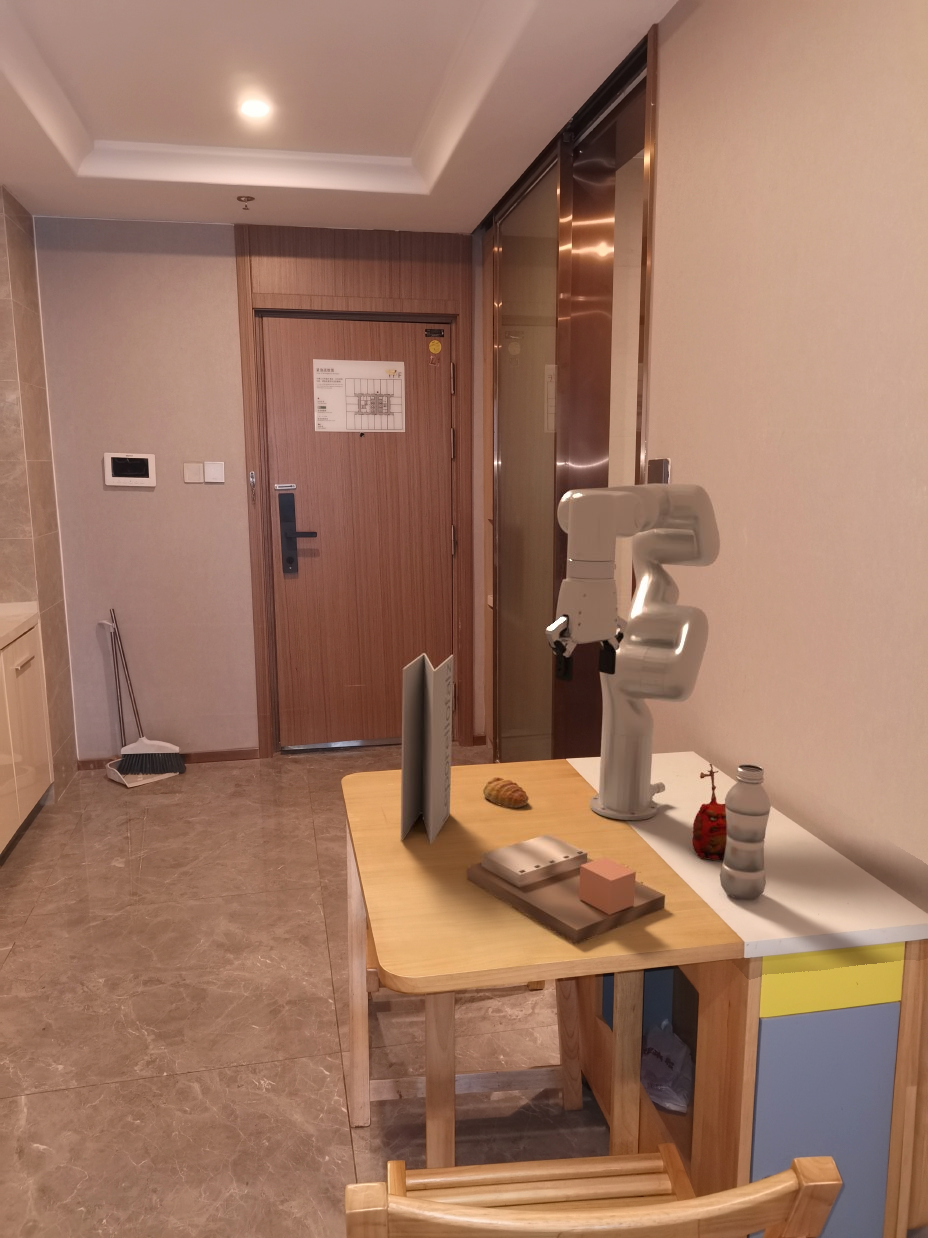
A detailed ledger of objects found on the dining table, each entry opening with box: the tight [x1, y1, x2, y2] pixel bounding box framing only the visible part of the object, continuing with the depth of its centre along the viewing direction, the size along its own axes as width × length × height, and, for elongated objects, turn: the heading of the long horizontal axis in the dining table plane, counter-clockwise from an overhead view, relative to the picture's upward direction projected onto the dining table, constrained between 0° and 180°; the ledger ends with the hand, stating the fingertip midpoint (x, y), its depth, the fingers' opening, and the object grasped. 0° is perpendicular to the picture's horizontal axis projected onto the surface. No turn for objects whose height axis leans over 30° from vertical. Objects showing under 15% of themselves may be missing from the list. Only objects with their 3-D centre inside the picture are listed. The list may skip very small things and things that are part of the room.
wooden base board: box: [466, 833, 666, 945], centre depth 135 cm, size 18×24×4 cm
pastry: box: [482, 776, 530, 809], centre depth 174 cm, size 9×7×4 cm
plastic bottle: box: [719, 763, 772, 900], centre depth 135 cm, size 6×7×20 cm
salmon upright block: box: [579, 856, 637, 915], centre depth 128 cm, size 5×6×5 cm
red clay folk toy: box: [691, 763, 727, 861], centre depth 150 cm, size 8×7×15 cm
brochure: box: [400, 652, 454, 844], centre depth 158 cm, size 14×6×30 cm, turn 168°
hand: (585, 676), depth 145 cm, fingers open, 9 cm apart
